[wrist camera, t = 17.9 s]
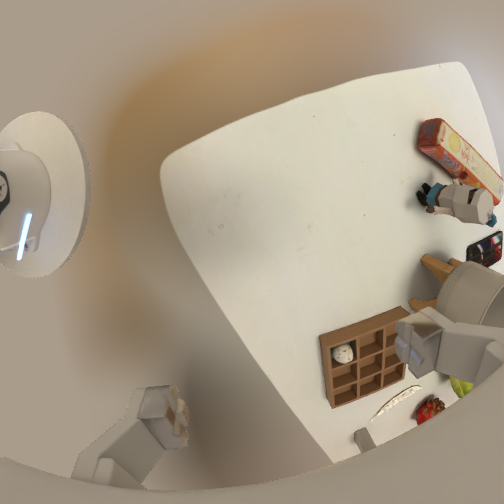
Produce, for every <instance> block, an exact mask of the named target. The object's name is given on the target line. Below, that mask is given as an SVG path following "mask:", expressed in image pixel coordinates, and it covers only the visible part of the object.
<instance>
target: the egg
mask: <svg viewBox="0 0 504 504" xmlns="http://www.w3.org/2000/svg"><path fill="white" fill-rule="evenodd" d="M332 354H333V357H334V358H335V360H337V361H338V362H340V363H344V364H347V363H349V362H350V361H352V359H353V352H352V349H351V347H350V346H349V345H348V344H347V343H344V344H341V345H338V346H335V347H334V348H333V351H332Z"/></svg>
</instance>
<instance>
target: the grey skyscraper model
mask: <svg viewBox="0 0 504 504" xmlns="http://www.w3.org/2000/svg"><path fill="white" fill-rule="evenodd" d="M355 441H356V443H357V445H358V447H359V449H360V451H361V453H363V452H366V451H368V450H370V449H373V448H375V447H376V445H375V443H374V442H373V440H372V438H371V436H370V434H369V433H368V431H367V429H366V428H362V429H360V430H358V431H356V432H355Z"/></svg>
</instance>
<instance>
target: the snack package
mask: <svg viewBox="0 0 504 504" xmlns="http://www.w3.org/2000/svg"><path fill="white" fill-rule="evenodd" d="M417 145H418V147H419V149H420V150H421V151H422V152H423V153H425V154H427V155H428V156H430V157H431V158H433V159H434V160H435V161H437V162H438V163H439V164H440V165H442V166H443V167H444V168H445V169H446V170H447V171H448V172H449V173H451V174H452V173H454V175H455V176H456V178H457V179H458V180H459V181H460V182H461V183H462V184H463V185H464V184H465V185H469V186H473V187H476V188H483V189H487V190H488V192H489V193H490V194H491V195H492V197H493V205H494V206H496V205H498V204H499V202H500V201H501V198H502V194H503V190H504V185H503V179H502V178H501V177H500V176H499V175H498V174H497V173H496V172H495V171H494V169H493V168H492V167H491V166H490V165H489V164H488V163H487V162H486V161H485V160H484V159H483V158H482V156H481V155H480V154H479V153H478V152H477V151H476V150H475V149H474V148H473V147H472V146H471V145H470V144H469V143H468V142H467V141H465V140H464V139H463V138H462V137H461V136H460V135H459V134H458V133H457V132H455V131H454V130H453V129H452V128H451V127H450V126H449V125H448V124H447V123H446V122H445V121H444V120H443V119H441V118H435V119H430V120H426V121H425V122H423V124H422V125H421V127H420V131H419V136H418V140H417Z"/></svg>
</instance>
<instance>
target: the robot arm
mask: <svg viewBox="0 0 504 504" xmlns="http://www.w3.org/2000/svg"><path fill="white" fill-rule="evenodd" d="M50 199H51V189H50V181H49V176H48V173H47V170H46V167H45V165H44V163H43V162H42V160H41V159H40V158H39V157H38V156H37V155H35V154H34V153H32V152H28V151H25V150H23V149H22V148H21V146H20V145H19V144H18V143H10V144H9V145H8V146H7V148H6V149H4V150H0V256H3V255H13V254H18V256H17V260H20V259H21V257H22V254H23V253H32V252H35V251H37V249H38V246H39V238H40V232H41V230H42V228H43V226H44V224H45V221H46V219H47V216H48V212H49V207H50ZM27 245H28V246H27ZM395 331H396V332H397V333H398V336H397V337H396V339H395V351H396V354H397V356H398V358H399V359H400V360H401V362H403V363H407V364H409V365H408V369H409V370H410V371H411V373H412V374H413V375H414V376H415V377H416V378H417V379H418V378H420V377H422V376H424V375H426V374H428V373H430V372H432V371H433V370H435V371H437V372H440V373H443V374H446V375H449V376H451V377H454V378H457V379H460V380H463V381H466V382H469V383H472V384H473V386H472V388H471V391H470V392H469V393H467V394H466V395H465V396H463V397H462V398H461V399H459V400H458V401H456V402H455V403H453V404H452V405H451V406H449V407H448V408H446V409H445V410H443V411H441V412H440V413H438V414H437V415H435V416H434V417H432V418H430V419H429V420H427V421H425V422H424V423H422V424H420V425H418V426H417V427H415V428H413V429H411V430H409V431H408V432H406V433H404V434H402V435H400V436H398V437H396V438H394V439H392V440H390V441H388V442H386V443H384V444H382V445H379V446H377V447H375V448H373V449H370V450H368V451H366V452H363V453H361V454H358V455H356V456H353V457H351V458H348V459H346V460H343V461H340V462H337V463H334V464H331V465H329V466H325V467H322V468H319V469H316V470H312V471H309V472H305V473H302V474H298V475H294V476H291V477H286V478H282V479H277V480H272V481H267V482H262V483H256V484H250V485H245V486H237V487H229V488H219V489H208V490H207V489H206V490H186V491H164V490H163V491H162V490H148V489H147V488H145V487H144V486H143V485H141V483H142V481H143V480H144V479H145V478H146V476H147V475H148V474H149V472H150V471H151V470H152V469H153V467H154V466H155V464H156V463H157V462H158V460H159V459H160V458H161V456H162V455H163V454H164V452H165V450H166V449H178V448H187V445H188V432H187V431H186V428H187V426H188V425H189V421H190V417H189V411H188V408H187V406H186V404H185V402H184V401H183V400H181V399H180V398H178V396H179V391H178V390H177V388H176V387H175V386H174V385H167V386H157V387H148V388H138V389H135V390H134V391H133V393H132V396H131V399H130V402H129V405H128V408H127V411H126V414H125V417H124V419H120V420H119V421H118V422H117V423H116V424H114V425H113V426H112V427H111V428H110V429H109V430H107V431H106V432H105V433H104V434H103V435H101V436H100V437H99V438H98V439H97V440H95V441H94V442H93V443H92V444H91V445H90V446H88V447H87V448H86V449H85V450H83V451H82V452H81V453H80V454H79V456H78V459H77V462H76V464H75V467H74V470H73V472H72V475H71V478H66V477H62V476H58V475H55V474H51V473H48V472H45V471H41V470H38V469H35V468H32V467H29V466H27V465H24V464H21V463H19V462H16V461H14V460H12V459H9V458H0V504H504V328H500V327H492V326H484V325H476V324H468V323H461V322H457V323H453V322H452V321H450V320H449V319H448V318H446V317H445V316H443V315H442V314H440V313H439V312H438V311H436V310H435V309H433V308H432V307H426V308H424V309H422V310H420V311H418V312H416V313H414V314H412V315H410V316H408V317H406V318H403V319H401V320H399V321H397V323H396V325H395Z"/></svg>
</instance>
